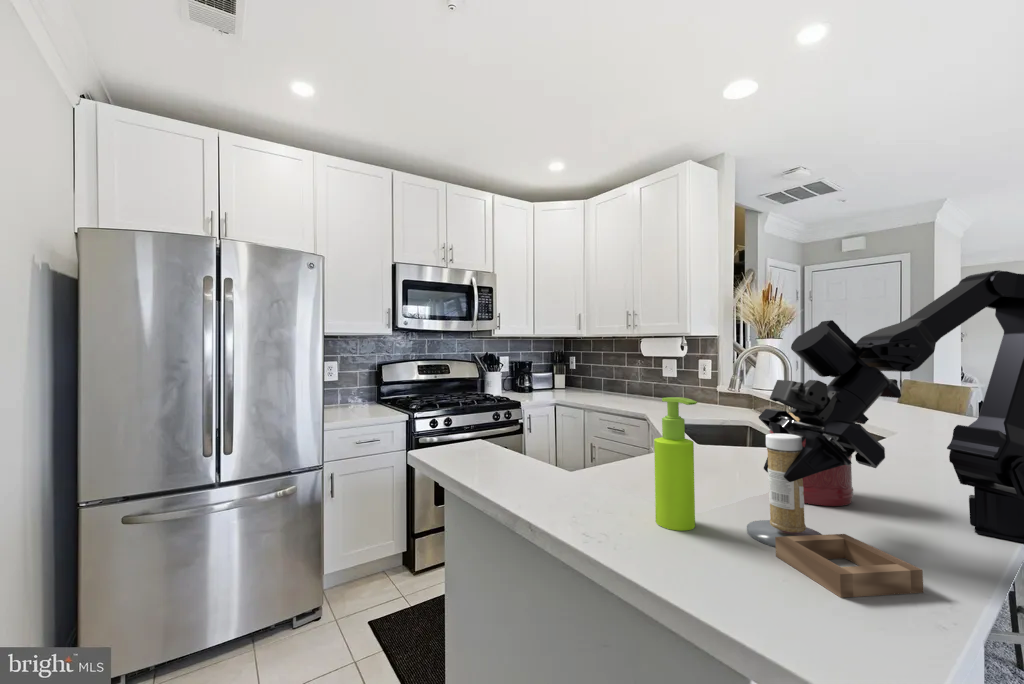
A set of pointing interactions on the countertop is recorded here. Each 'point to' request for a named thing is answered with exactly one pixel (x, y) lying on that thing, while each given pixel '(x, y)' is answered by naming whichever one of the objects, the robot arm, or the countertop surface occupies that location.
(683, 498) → the soap dispenser
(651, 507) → the countertop surface
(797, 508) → the sprinkles bottle
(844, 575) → the walnut pocket block
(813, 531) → the slate coaster
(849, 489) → the canister
